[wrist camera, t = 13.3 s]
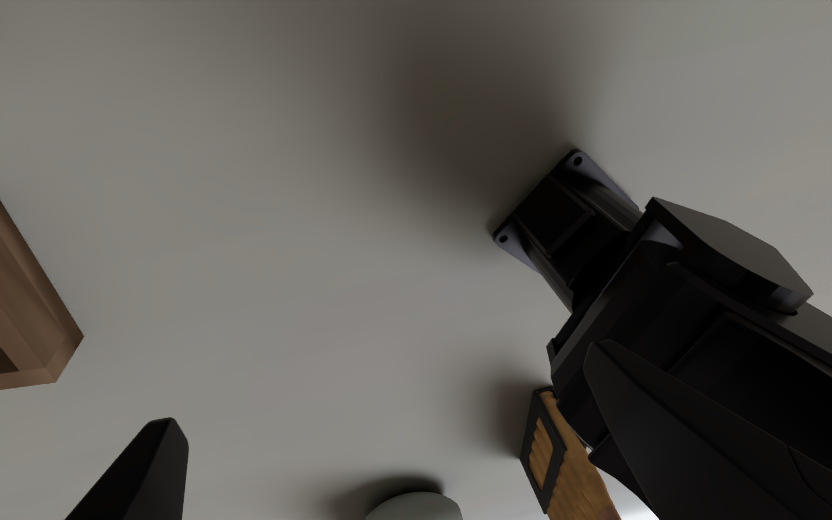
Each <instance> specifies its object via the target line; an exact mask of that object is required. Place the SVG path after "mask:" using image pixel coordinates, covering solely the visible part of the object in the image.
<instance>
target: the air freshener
mask: <svg viewBox="0 0 832 520" xmlns="http://www.w3.org/2000/svg"><path fill="white" fill-rule="evenodd" d="M365 520H463V518H462V514H461V511H460V508H459V506H458V504H457V503H456V502H454V501H453V500H451V499H450V498H448V497H446V496H443V495H440V494H437V493H432V492H410V493H405V494H401V495H398V496H395V497H393V498H390V499H388V500H387V501H385V502H383V503H382V504H380V505H379V506H377V507H376V508H375V509H374V510H372V511H371V512H370V513H369V514H368V515H367V516H366V517H365Z"/></svg>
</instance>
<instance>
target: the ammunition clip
mask: <svg viewBox="0 0 832 520" xmlns="http://www.w3.org/2000/svg"><path fill="white" fill-rule="evenodd" d="M557 400H558V396H557V393H556V391H555V388H554V387H552V388H547V389H542V390H538V391H533V394H532V399H531V404H530V409H529V414H528V419H527V425H526V430H525V435H524V440H523V445H522V450H521V455H520V461H521V463H522V466H523V468H524V470H525V472H526V475H527V477H528V479H529V481H530V484H531V486H532V488H533V490H534V493H535V495H536V497H537V499H538V502H539V504H540V506H541V508H542V510H543V513H544V514H548V517H549V519H550V520H621V518H620V516H619V514H618V512H617V511H616V509H615V506H614V504H613V502H612V500H611V498H610V496H609V494H608V492H607V489H606V486H605V484H604V481H603V479H602V478H601V476H600V474H599V472H598V471H597V469H596V467H595V466H594V465H593V464H591V463H590V461H589V460H588V453H587V451H586V447H587V446H586V445H585V444H584V443H583V442H582V441H581V440H580V439H579V438H578V437H577V436H576V435H575V433H574V432H573V431H572V430H571V428H570V427H569V426H568V424H567V423H566V422H565V420H564V419H563V417H562V416H561V414H560V413H559V412H558V409H557V407H556V401H557Z"/></svg>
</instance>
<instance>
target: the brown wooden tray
mask: <svg viewBox="0 0 832 520" xmlns="http://www.w3.org/2000/svg"><path fill="white" fill-rule="evenodd" d="M83 337H84V336H83V334H82V332H81V331H80V329H79V328H78V326H77V324H76V323H75V321H74V319H73V318H72V316H71V315H70V313H69V311H68V310H67V308H66V306H65V305H64V303H63V302H62V300H61V298H60V297H59V295H58V293H57V292H56V290H55V289H54V287H53V285H52V284H51V282H50V281H49V279H48V277H47V276H46V274H45V272H44V271H43V269H42V268H41V266H40V264H39V263H38V261H37V259H36V258H35V256H34V255H33V253H32V251H31V250H30V248H29V246H28V245H27V243H26V242H25V240H24V238H23V237H22V235H21V233H20V232H19V230H18V229H17V227H16V225H15V224H14V222H13V220H12V219H11V217H10V216H9V214H8V212H7V211H6V209H5V208H4V206H3V204H2V203H1V201H0V390H3V389H10V388H18V387H25V386H32V385H40V384H47V383H55V382H56V381H57V380H58V378H59V376H60V375H61V373H62V372H63V370H64V368H65V367H66V365H67V363H68V362H69V360H70V359H71V357H72V355H73V354H74V352H75V350H76V349H77V347H78V346H79V344H80V342H81V341H82V339H83Z"/></svg>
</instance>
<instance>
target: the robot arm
mask: <svg viewBox="0 0 832 520" xmlns="http://www.w3.org/2000/svg"><path fill="white" fill-rule="evenodd" d="M576 157H578V160H577V161H576V162H575V163H573V161H574V159H575V158H576ZM645 209H646V211H645V212H644V213H642V212H641V211H639V208H638V206H637V205H636V204H635V203H634V202H633V201H632V200H631V199H630V198H629V197H628V196H627V195H626V194H625V193H624V192H623V191H622V190H621V189H620V188H619V187H618V186H617V185H616V184H615V183H614V182H613V181H612V180H611V179H610V178H609V177H608V176H607V175H606V174H605V173H604V172H603V171H602V170H601V169H600V168H599V167H598V166H597V165H596V164H595V163H594V162H593V161H592V160H591V159H590V158H589V157H588V156H587V155H586V154H585V153H584V152H582V151H580V150H579V149H574V150H572V151H570V152H569V153H568V154H567V155H566V156H565V157H564V158H563V159H562V160H561V161H560V162H559V164H558V165H557V166H556V167H555V168H554V169H553V170H552V171H551V172H550V173H549V174H548V175H547V176H546V177H545V178H544V179H543V180H542V181H541V182H540V184H539V185H538V186H537V187H536V188H535V189H534V190H533V191H532V192H531V193H530V194H529V195H528V196H527V197H526V198H525V200H524V201H523V202H522V203H521V204H520V205H519V206H518V207H517V208H516V209H515V210H514V212H513V213H512V214H511V215H510V216H509V217H508V218H507V219H506V220H505V221H504V222H503V223H502V224H501V225H500V227H499V228H498V229H497V230H496V231H495V232H494V234H493V240H494V242H495V243H496V244H497V245H498V246H499V247H501V248H502V249H503V250H505V251H506V252H508V253H509V254H511V255H512V256H514V257H515V258H517V259H518V260H520V261H521V262H523V263H524V264H526V265H527V266H529V267H530V268H532V269H533V270H535V271H536V272H538V273H539V274H541V275H542V276H543V277H544V279H545V280H546V281H547V283H548V284H549V285H550V287H551V288H552V289H553V291H554V292H555V293H556V295H557V296H558V297H559V299H560V300H561V301H562V302H563V304H564V305H565V306H566V308H567V309H568V310H569V312H570V313H571V314H572V315H571V316H570V317H569V319H568V320H567V322H566V323H565V324H564V326H563V327H562V329H561V330H560V331H559V333H558V334H557V336H556V337H555V338H552V339H551V340H550V342H549V343H548V345H547V346H546V348H547V352H548V357H549V361H550V365H551V380H552V383H553V385H554V388H555V391H556V393H557V396H558V400H557V401H556V407H557V409H558V412H559V413H560V414H561V416H562V417H563V419H564V420H565V422H566V423H567V424H568V426H569V427H570V428H571V430H572V431H573V432H574V433H575V435H576V436H577V437H578V438H579V439H580V440H581V441H582V442H583V443H584V444H585V445H586V446H587V447H589V448H590V449H591V450H592V451H591V452H590V453H589V455H588V460H589V461H590V463H591V464H593V465H594V466H596V467H598V468H599V469H601V470H603V471H604V472H606V473H608V474H609V475H611V476H613V477H614V478H616V479H617V480H618V481H619V482H621V483H622V484H623V485H624V486H626V487H627V488H628V489H629V490H630V491H632V492H633V493H634V494H635V495H637V496H638V497H639V498H640V499H641V500H642V501H643V502H644V503H645V505H646V506H647V507H648V508H649V509H650V510H651V511H652V512H653V513H654V514H655V515H656V516H657V517H658V518H659V520H832V317H831V316H829V315H827V314H826V313H824V312H822V311H821V310H819V309H817V308H815V307H814V306H812V305H810V304H809V303H807V302H806V301H807V300H808V299H809V298H810V297H811V296H812V295H813V292H812V290H811V289H810V288H809V286H808V285H807V284H806V283H805V282H804V281H803V279H802V278H801V277H800V276H799V275H798V274H797V272H796V271H795V270H794V269H793V268H792V267H791V265H790V264H789V263H788V262H787V261H786V260H785V258H784V257H783V256H782V255H781V254H780V253H779V251H778V250H777V249H776V248H774V247H773V246H771V245H769V244H768V243H766V242H764V241H762V240H760V239H758V238H757V237H755V236H753V235H751V234H749V233H747V232H745V231H744V230H742V229H740V228H738V227H736V226H734V225H733V224H731V223H729V222H727V221H725V220H722V219H719V218H716V217H713V216H710V215H707V214H704V213H701V212H698V211H695V210H692V209H689V208H686V207H683V206H680V205H677V204H674V203H671V202H668V201H665V200H662V199H660V198H657V197H652V198H651V199H650V201H649V202H648V204H647V205H646V206H645ZM503 235H505V236H504V238H502V239H500V237H501V236H503ZM188 453H189V446H188V441H187V439H186V437H185V435H184V433H183V432H182V430H181V428H180V427H179V425H178V423H177V422H176V420H175V419H174V418H171V417H168V418H163V419H157V420H153V421H150V422H149V423H147V424H146V425H145V426H144V427H143V428H142V430H141V431H140V432H139V433H138V434H137V435H136V437H135V438H134V439H133V440H132V441H131V442H130V444H129V445H128V446H127V447H126V448H125V449H124V451H123V452H122V453H121V454H120V455H119V456H118V458H117V459H116V460H115V461H114V462H113V464H112V465H111V466H110V467H109V468H108V469H107V471H106V472H105V473H104V474H103V475H102V476H101V478H100V479H99V480H98V481H97V482H96V483H95V485H94V486H93V487H92V488H91V489H90V490H89V492H88V493H87V494H86V495H85V496H84V497H83V499H82V500H81V501H80V502H79V503H78V504H77V506H76V507H75V508H74V509H73V510H72V511H71V513H70V514H69V515H68V516H67V517H66V519H65V520H182V513H183V503H184V493H185V483H186V473H187V463H188Z"/></svg>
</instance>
